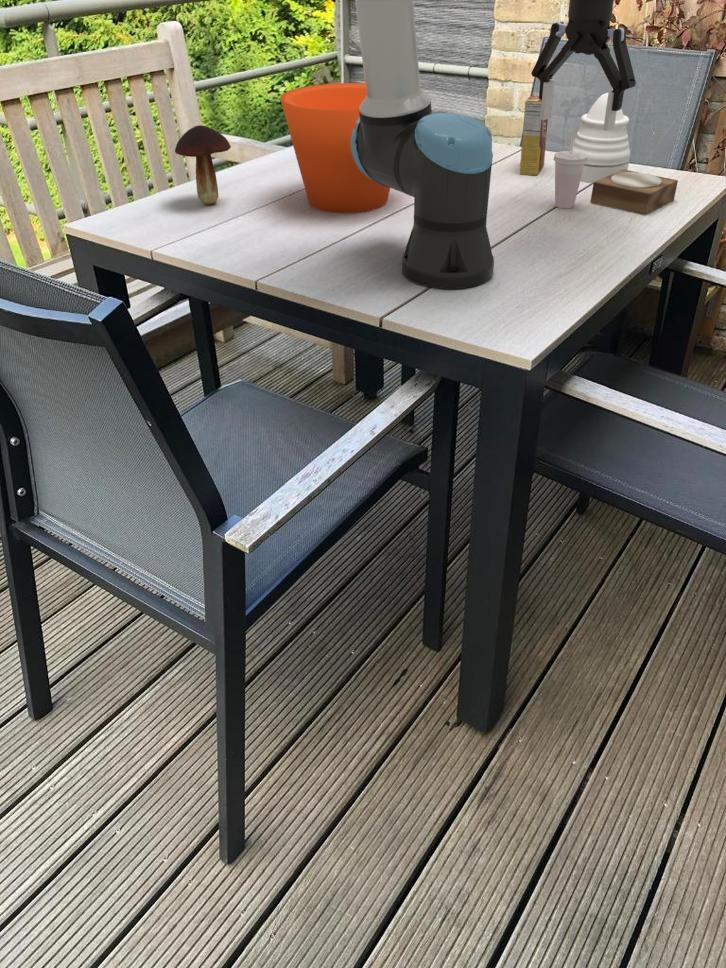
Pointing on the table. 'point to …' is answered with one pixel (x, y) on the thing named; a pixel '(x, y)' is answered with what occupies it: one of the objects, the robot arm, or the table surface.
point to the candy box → (533, 137)
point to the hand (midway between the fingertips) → (576, 123)
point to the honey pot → (602, 143)
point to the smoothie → (568, 175)
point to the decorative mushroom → (203, 158)
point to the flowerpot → (330, 147)
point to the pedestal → (634, 191)
